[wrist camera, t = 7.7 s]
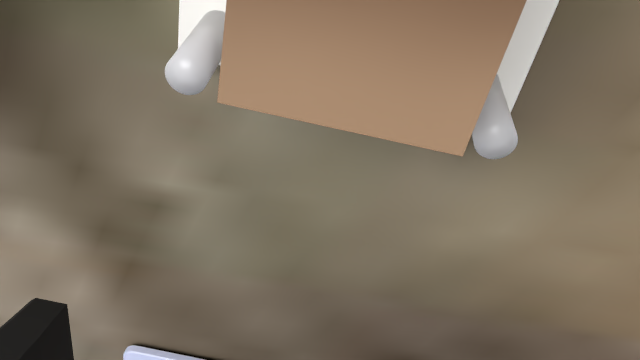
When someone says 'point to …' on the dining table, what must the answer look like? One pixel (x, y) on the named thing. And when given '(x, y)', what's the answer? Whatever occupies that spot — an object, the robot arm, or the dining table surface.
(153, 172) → the dining table surface
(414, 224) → the dining table surface
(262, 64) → the walnut block
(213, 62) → the standoff plate
